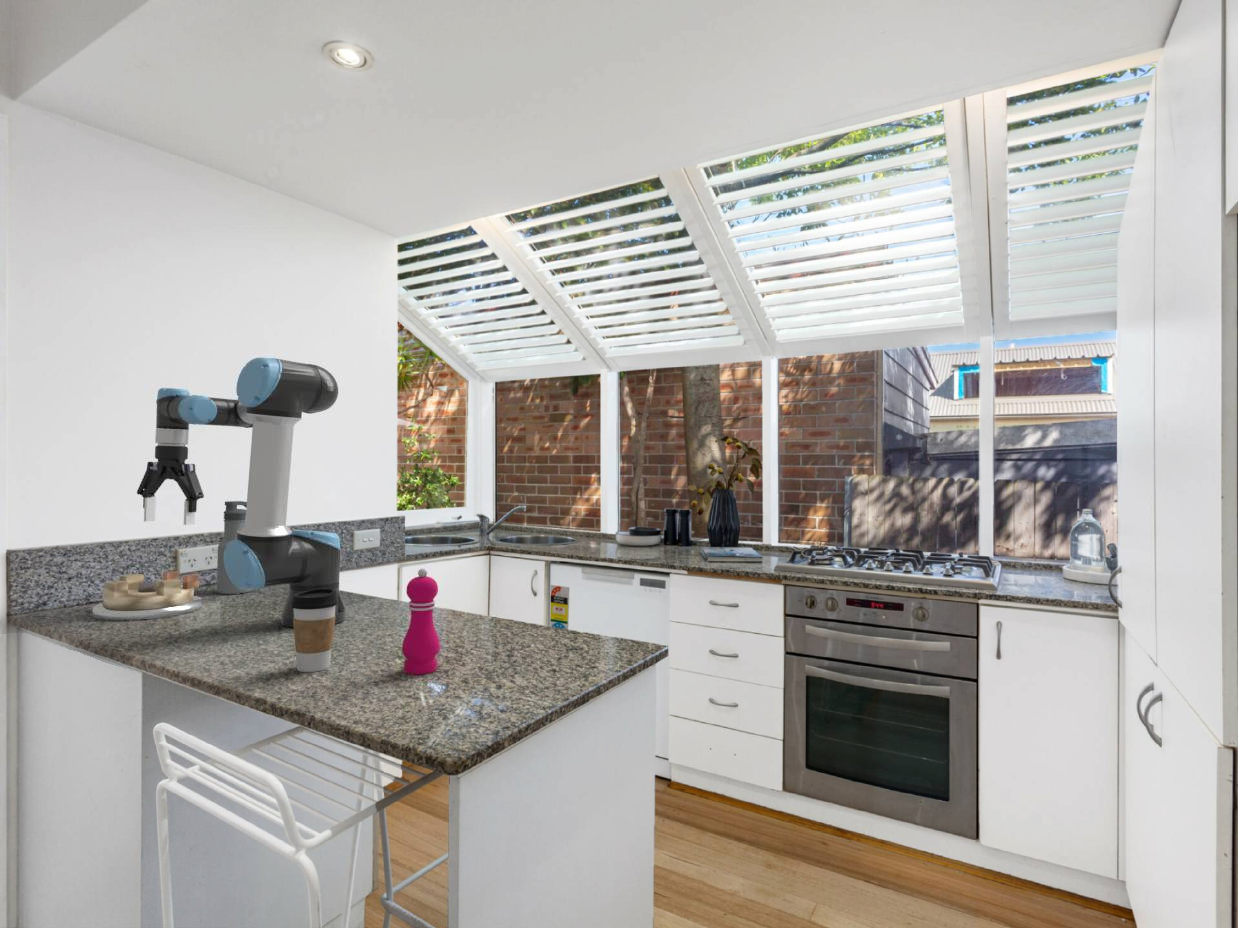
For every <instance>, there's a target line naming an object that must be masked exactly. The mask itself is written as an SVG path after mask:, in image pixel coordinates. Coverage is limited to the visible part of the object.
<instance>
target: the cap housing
mask: <svg viewBox="0 0 1238 928" xmlns="http://www.w3.org/2000/svg"><path fill="white" fill-rule="evenodd" d="M202 607H203V598H202V597H200V596H197V595H196V596H195V595H194V599H193V600H192V601H190V602H188V603H184V604H180V605H175V606H169V607H162V608H153V609H140V610H114V609H107V608H104V607H103V602H101V603H98V604H96V605H94V606H93V607H92V618H94V619H97V620H100V619H101V620H103V621H109V620H110V621H112V622H114V621H115V620H116V621H115V622H120V620H132V621H140V620H139V619H147V620H156V619H155V618H157V619H163V618H171V617H170V616H172V617H176V616H177V617H178V616H181V614H183V615H187V614H190V613H189V612H191V613H193V612H197V611H198V610H200V609H202ZM196 610H197V611H196ZM113 620H114V621H113ZM118 620H119V621H118Z"/></svg>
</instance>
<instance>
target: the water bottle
mask: <svg viewBox="0 0 1238 928" xmlns="http://www.w3.org/2000/svg"><path fill="white" fill-rule="evenodd" d="M224 506H225V510H224V511H223V522H224V527H223V528H224V529H223V530H224V531H223V540H222V541H221V542H220V543H219V544H218V545H217V563H216V564H217V565H216V567H217V568H216V570H217V571H216V573H217V574H216V575H217V576H216V592H217V593H218V594H221V595H226V594H232V595H241V594H240V593H243V594H247V593H246V592H248V593H250V592H252V591H253V589H240V588H238V587H237V586H235V585H234V584H233V583H232V582H231V580H230V579H229V577H228V575H227V573H226V570H225V566H224V550H225V548H226V547H227V544H228V543H229V542H231V541H233V540H237V530H238V529H239V528H241V527H242V526H243V525H244V524H245V520H246V507H247V501H243V500H242V501H241V500H230V501H229V500H227V501H224ZM238 506H243V507H244V508H245V509H244V508H238Z"/></svg>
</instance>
